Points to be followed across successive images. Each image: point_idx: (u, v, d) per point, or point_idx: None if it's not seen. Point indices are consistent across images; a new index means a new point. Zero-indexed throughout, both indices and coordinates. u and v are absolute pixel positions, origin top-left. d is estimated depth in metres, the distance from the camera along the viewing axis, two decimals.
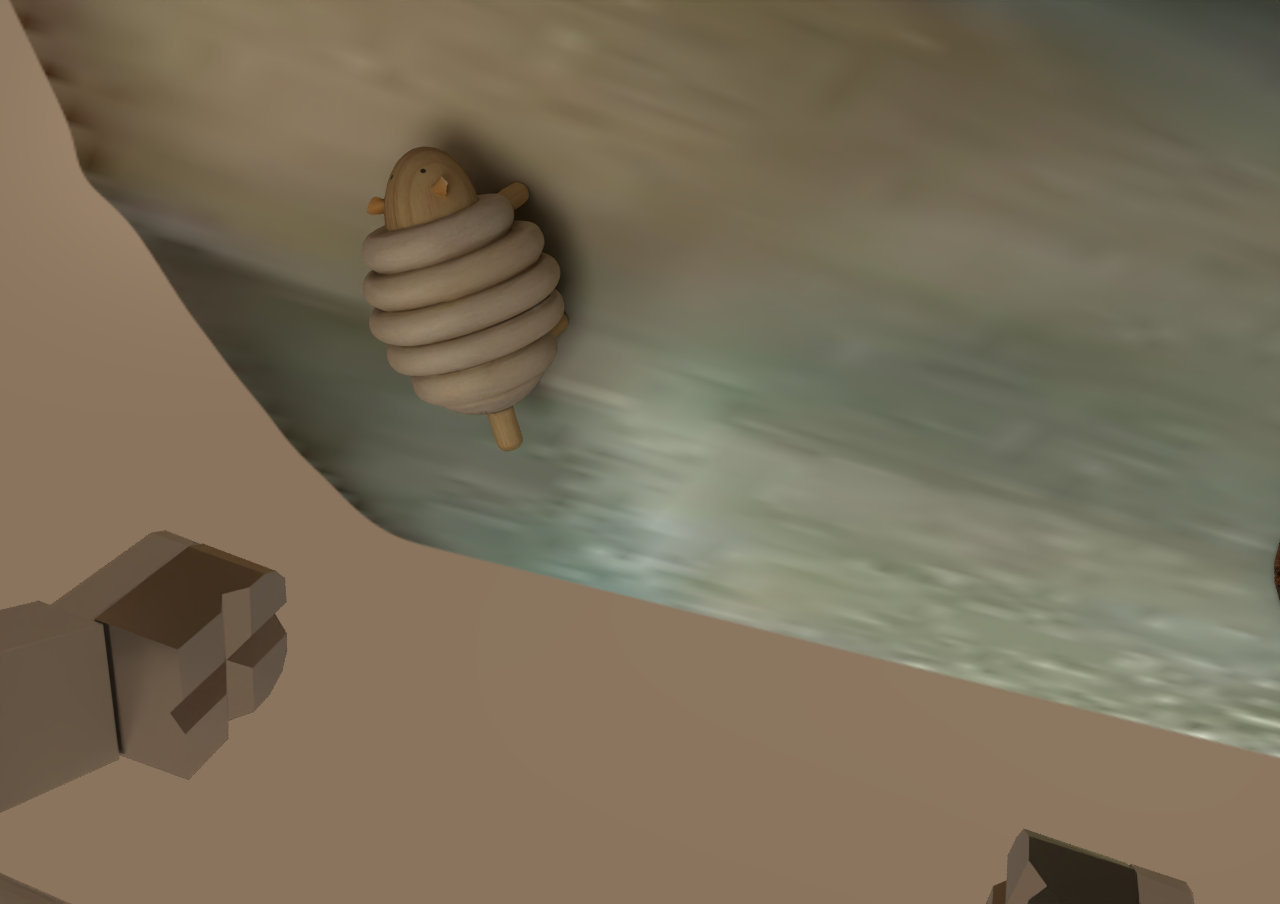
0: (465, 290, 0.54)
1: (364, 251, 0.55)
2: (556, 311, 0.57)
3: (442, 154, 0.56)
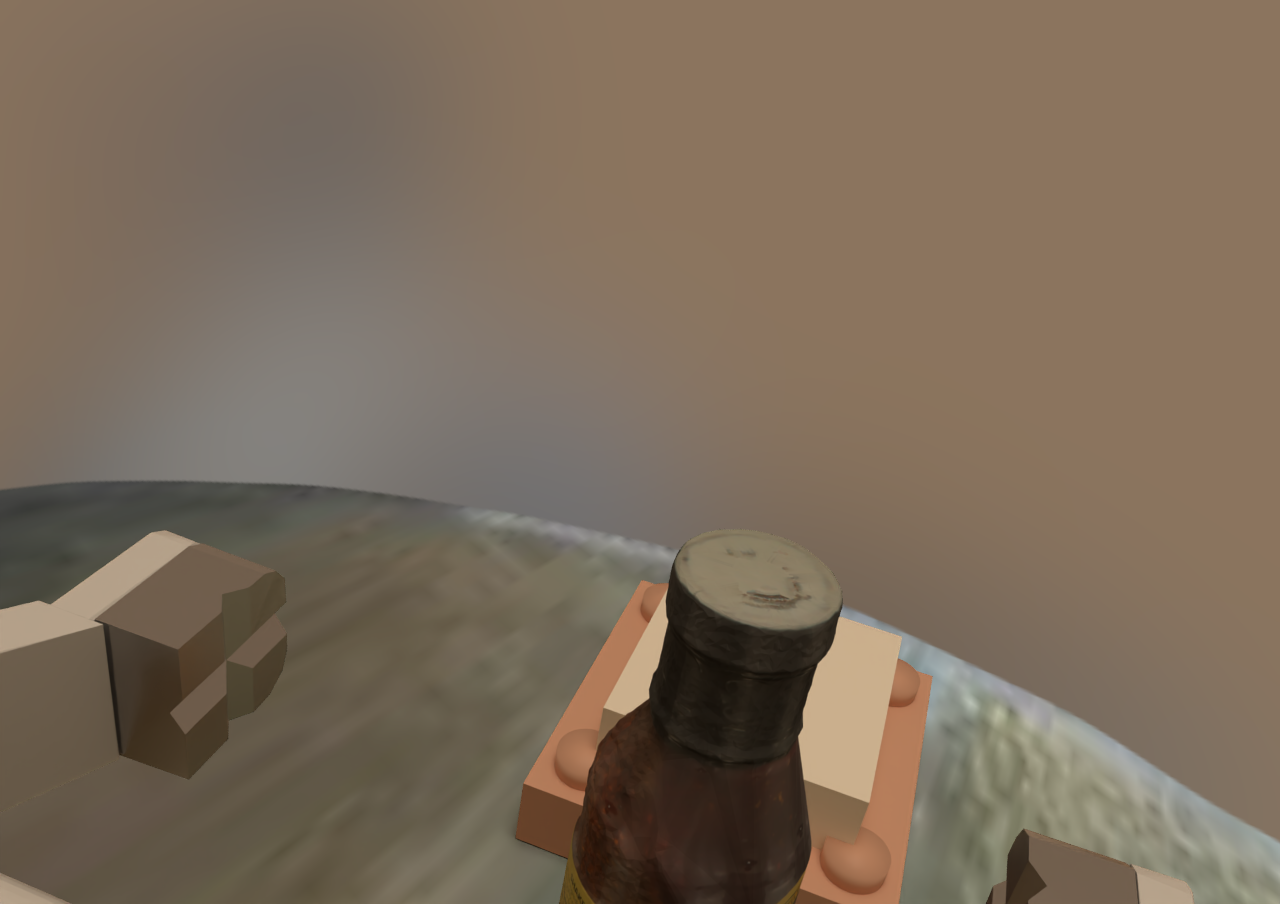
0: None
1: None
2: None
3: None
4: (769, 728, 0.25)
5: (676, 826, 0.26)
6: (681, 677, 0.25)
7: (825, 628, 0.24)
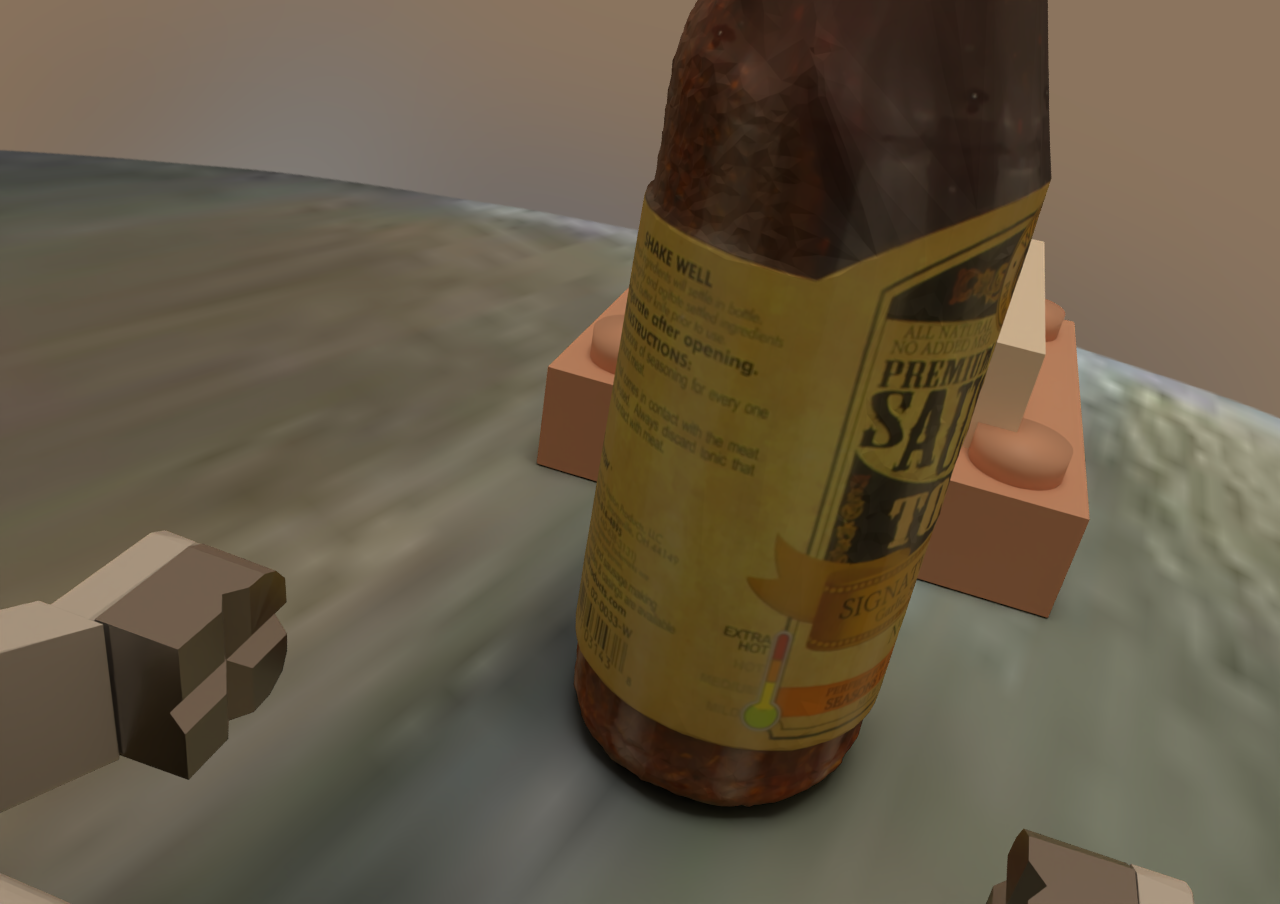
0: None
1: None
2: None
3: None
4: None
5: (851, 8, 0.14)
6: None
7: None
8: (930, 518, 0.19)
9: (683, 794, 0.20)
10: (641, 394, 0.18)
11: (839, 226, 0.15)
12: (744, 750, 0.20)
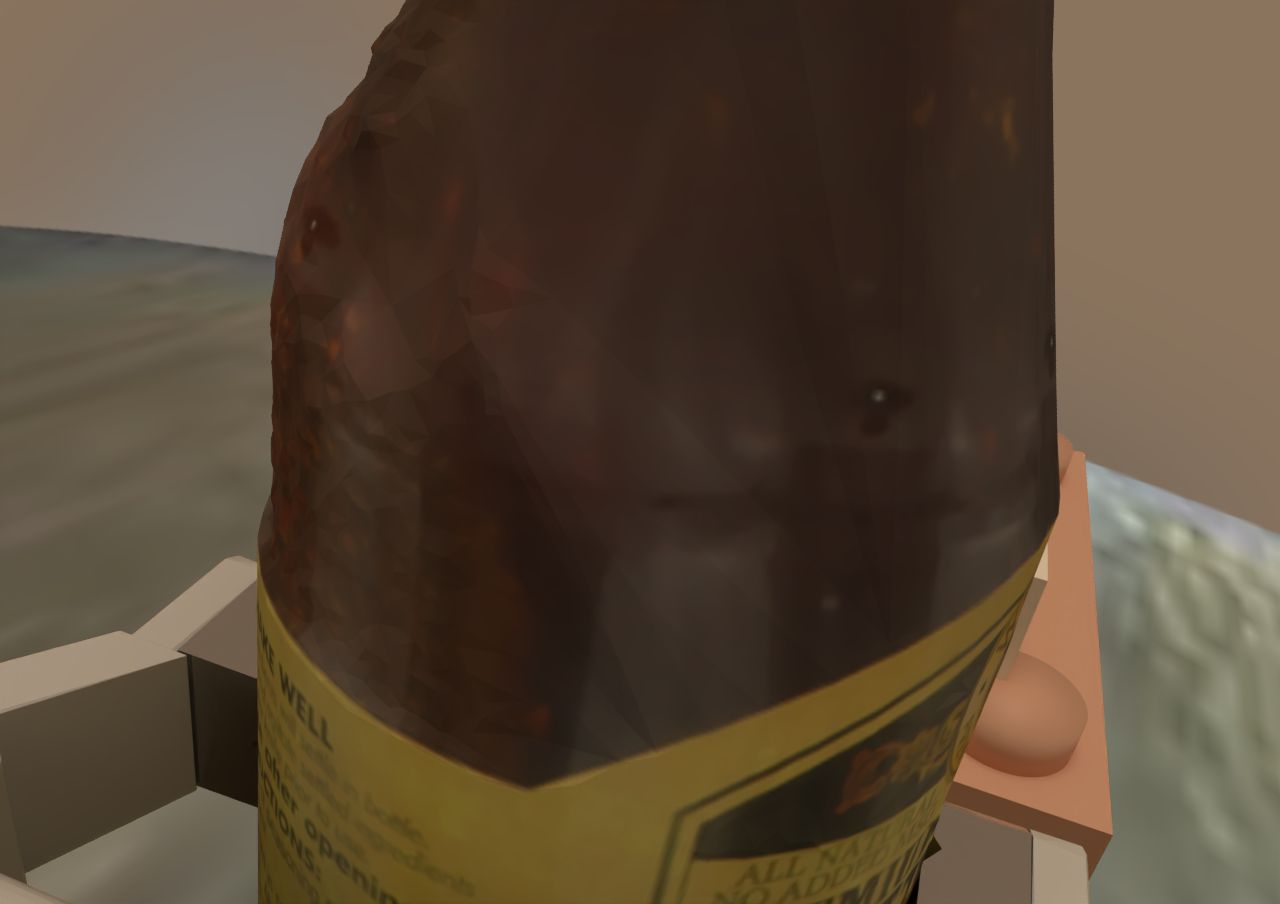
0: None
1: None
2: None
3: None
4: None
5: (563, 200, 0.06)
6: None
7: None
8: None
9: None
10: (266, 870, 0.09)
11: (569, 685, 0.07)
12: None
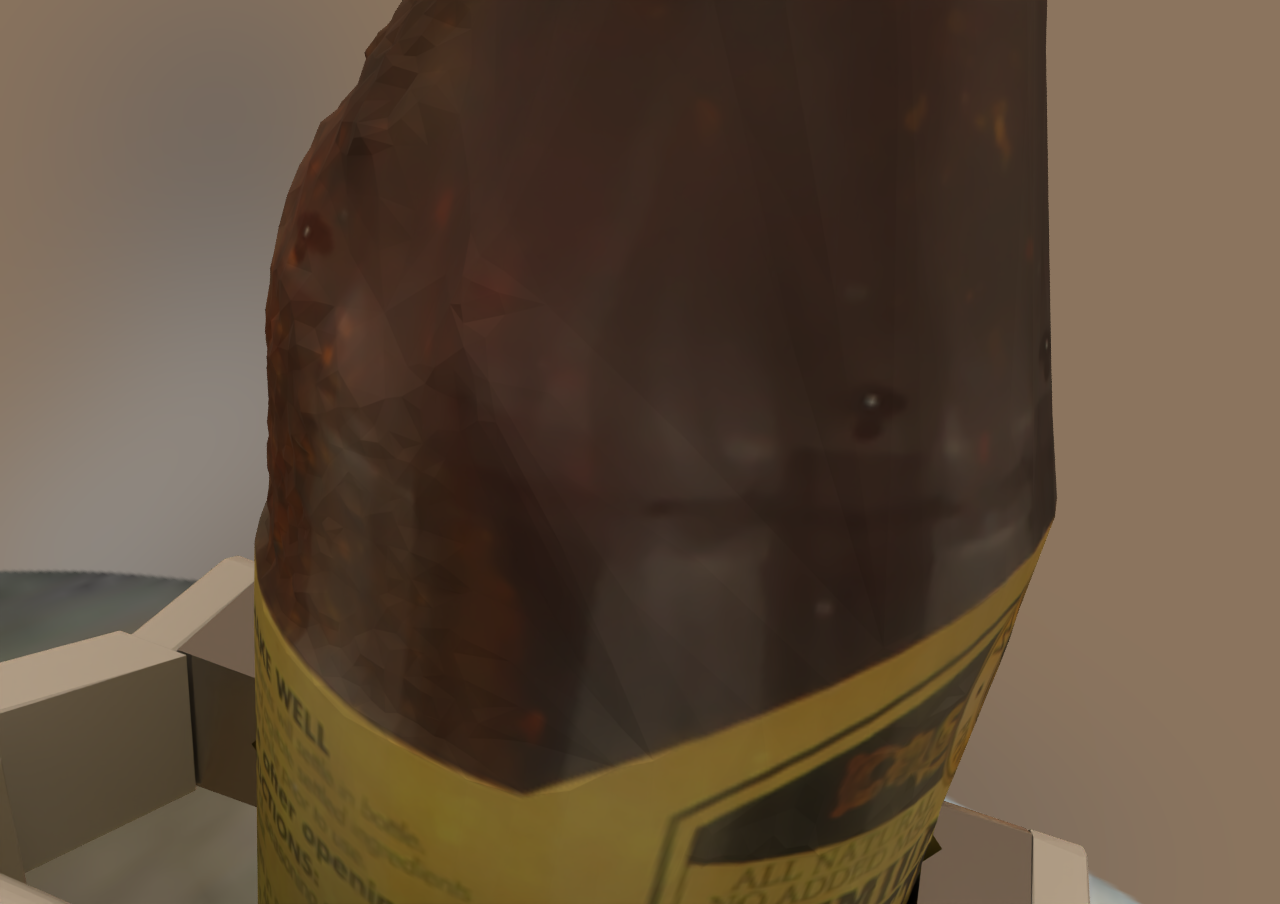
0: None
1: None
2: None
3: None
4: None
5: (554, 208, 0.06)
6: None
7: None
8: None
9: None
10: (266, 873, 0.09)
11: (562, 690, 0.07)
12: None
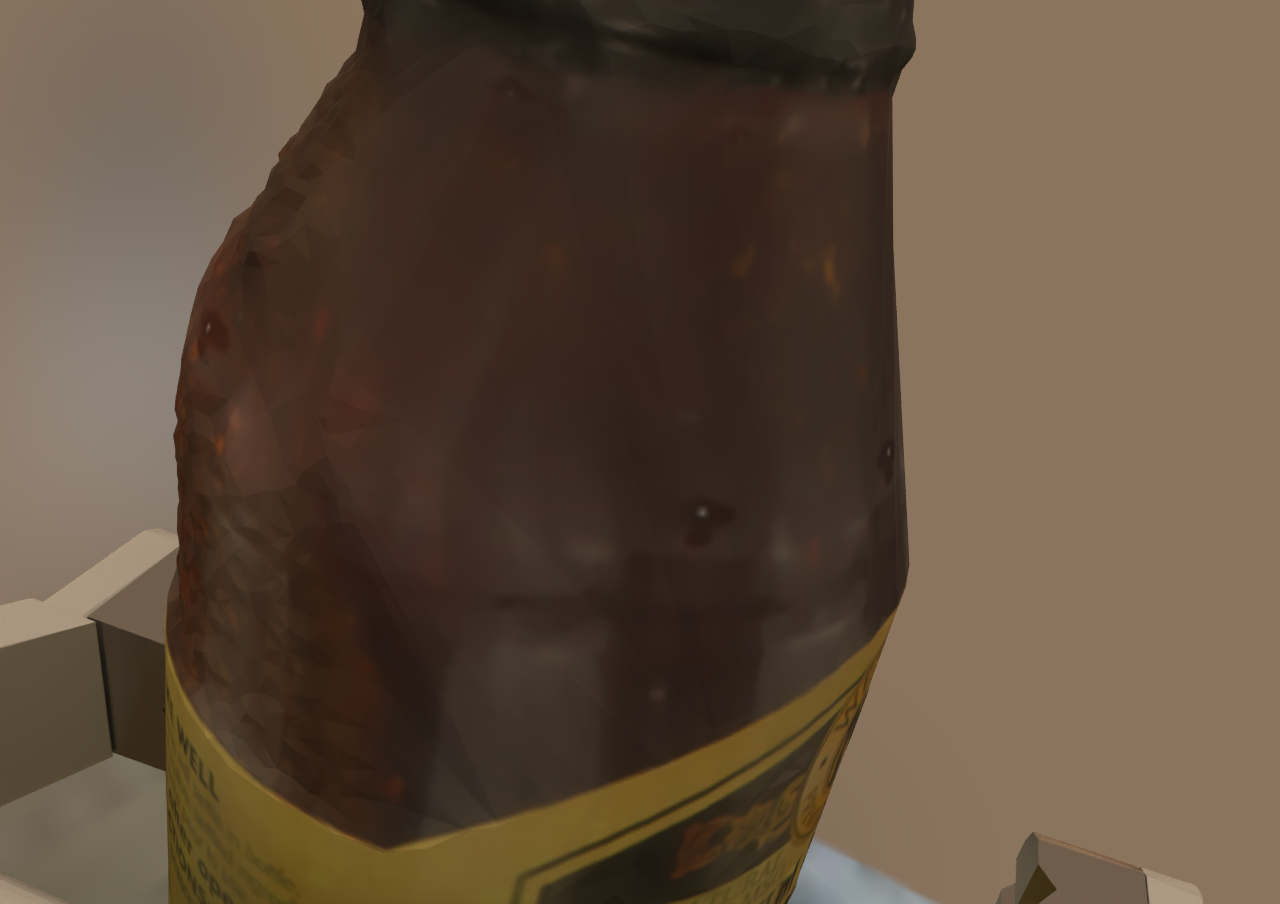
0: None
1: None
2: None
3: None
4: None
5: (412, 334, 0.06)
6: None
7: None
8: None
9: None
10: (172, 899, 0.10)
11: (419, 760, 0.07)
12: None
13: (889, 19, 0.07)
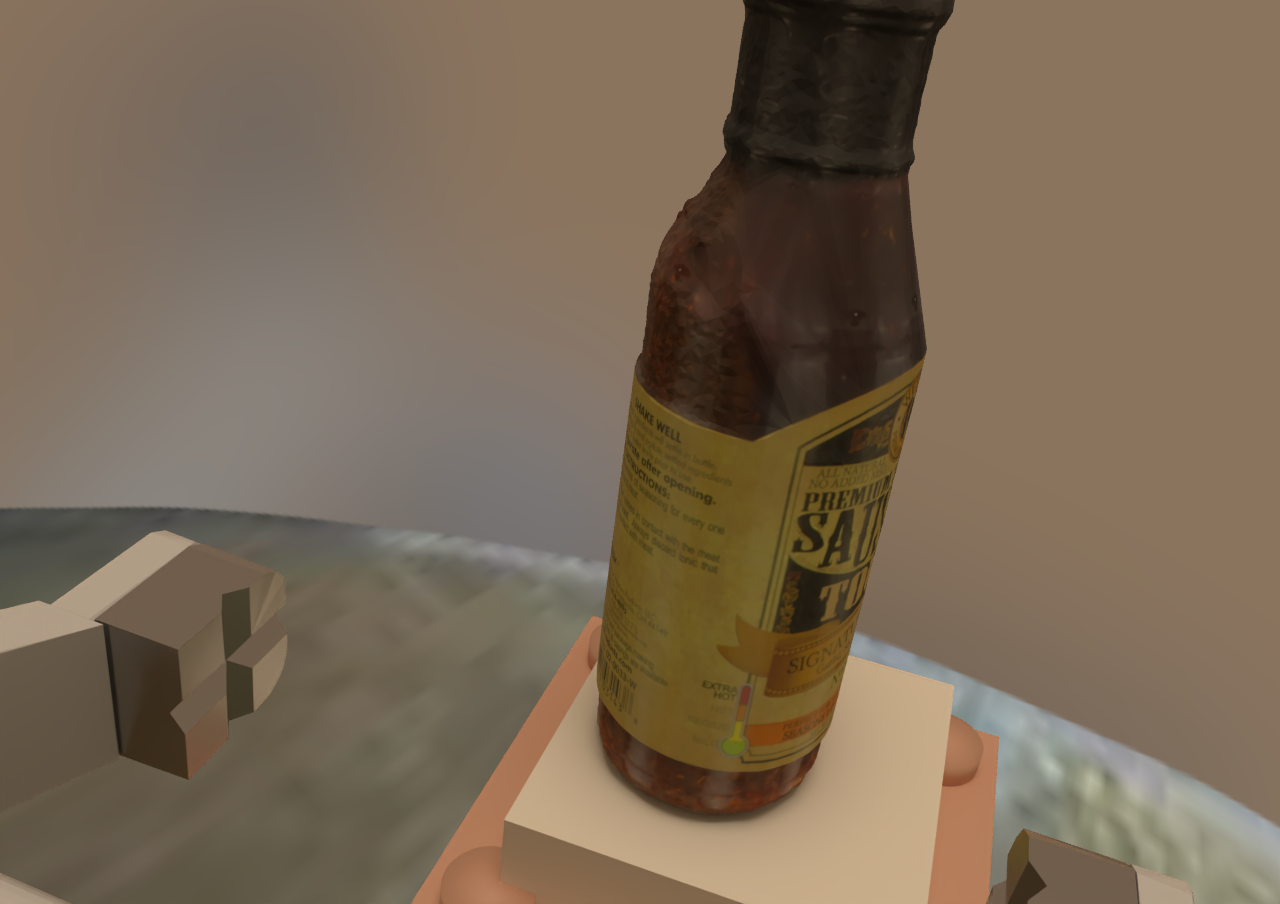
0: None
1: None
2: None
3: None
4: (877, 119, 0.20)
5: (765, 261, 0.21)
6: (765, 61, 0.20)
7: None
8: (854, 596, 0.25)
9: (680, 805, 0.27)
10: (635, 512, 0.25)
11: (765, 405, 0.22)
12: (723, 771, 0.26)
13: (905, 153, 0.21)
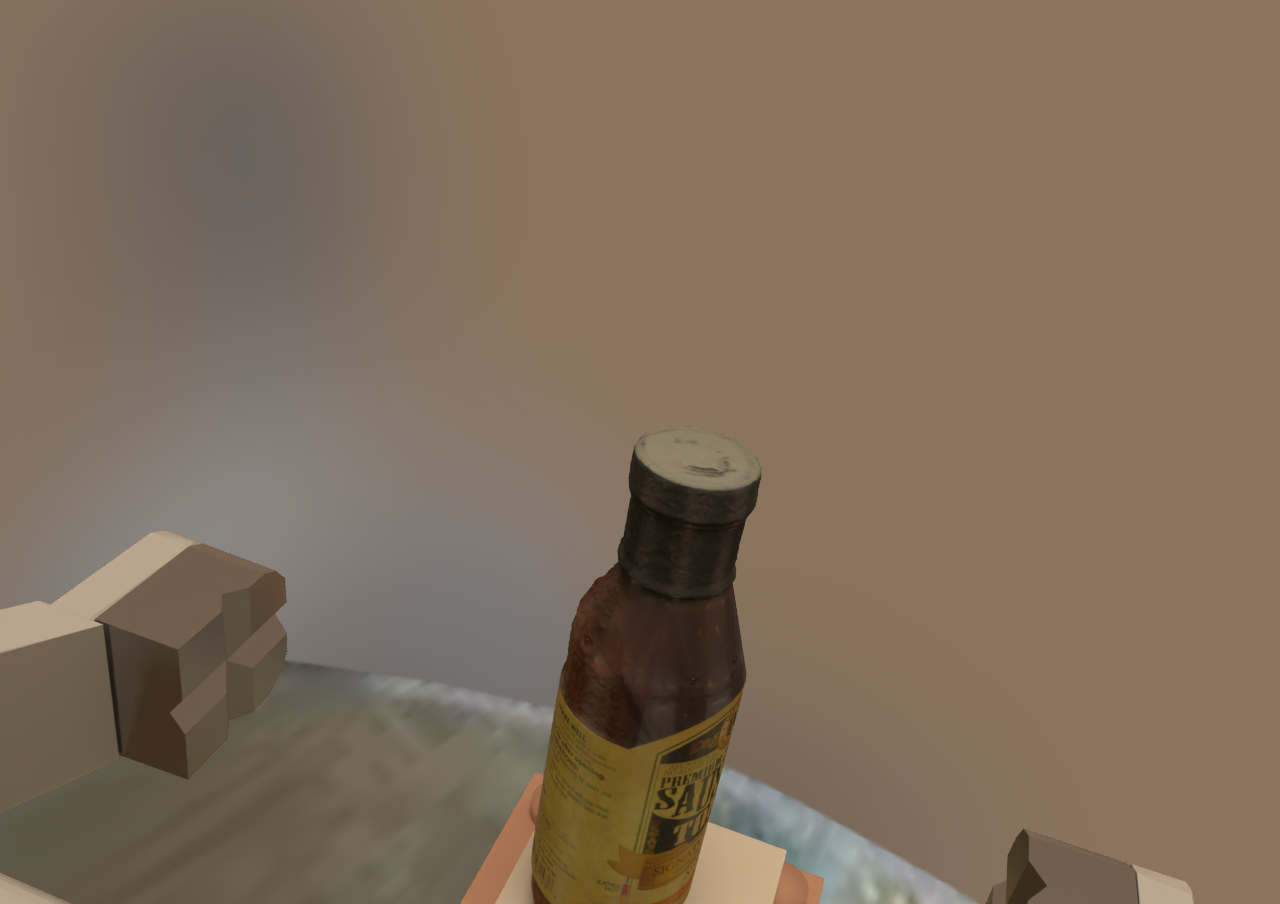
0: None
1: None
2: None
3: None
4: (706, 572, 0.34)
5: (638, 649, 0.34)
6: (640, 533, 0.34)
7: (746, 491, 0.33)
8: (698, 826, 0.38)
9: None
10: (557, 771, 0.38)
11: (636, 729, 0.35)
12: None
13: (727, 581, 0.35)
